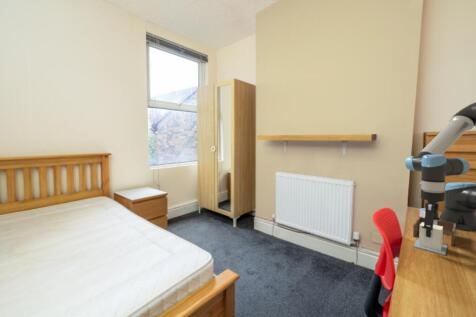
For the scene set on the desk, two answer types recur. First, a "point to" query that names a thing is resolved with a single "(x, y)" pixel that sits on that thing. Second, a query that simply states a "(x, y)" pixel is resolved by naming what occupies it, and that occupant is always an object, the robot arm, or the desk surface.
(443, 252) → the felt pad
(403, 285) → the desk surface
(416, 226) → the crate
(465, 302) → the desk surface
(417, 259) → the desk surface
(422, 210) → the medicine box
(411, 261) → the desk surface
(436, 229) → the cream block
